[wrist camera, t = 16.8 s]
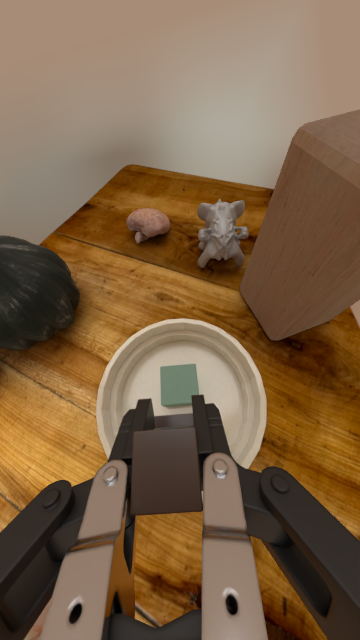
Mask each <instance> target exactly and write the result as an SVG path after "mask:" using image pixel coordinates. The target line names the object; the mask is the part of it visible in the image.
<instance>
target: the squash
mask: <svg viewBox="0 0 360 640" xmlns="http://www.w3.org/2000/svg"><path fill="white" fill-rule="evenodd" d="M79 299H80V293H79V290H78V288H77V286H76V284H75V283H74V281H73V279H72V278H71V273H70V270H69V268H68V266H67V265H66V263H65V262H64V261H63V260H62V259H61V258H60V257H59V256H58V255H57V254H56V253H54V252H53V251H51V250H49V249H48V248H46V247H42V246H39V245H35V244H32V243H30V242H28V241H26V240H23V239H19V238H15V237H10V236H0V348H7V349H11V350H25V349H29V348H31V347H32V346H34V345H35V344H36V343H37V341H46V340H48V339H50V338H51V337H52V336H53V334H54V332H55V329H63V328H66V327H68V326H70V325H71V324H72V323H73V322H74V312H73V310H74V309H76V308H77V306H78V303H79Z"/></svg>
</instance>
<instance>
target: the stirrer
mask: <svg viewBox="0 0 360 640" xmlns="http://www.w3.org/2000/svg"><path fill="white" fill-rule="evenodd" d="M154 418H155V429H148V430H140V431H134V432H133V452H132V475H131V498H130V516H137V515H153V514H169V513H184V512H200V511H203V504H202V493H201V482H200V470H199V459H198V448H197V437H196V428H195V427H194V422H193V413H189V414H176V415H162V416H154Z"/></svg>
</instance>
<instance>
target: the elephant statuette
mask: <svg viewBox="0 0 360 640" xmlns="http://www.w3.org/2000/svg"><path fill="white" fill-rule="evenodd" d="M244 208H245V203H244V201H243V200H241V201H236V202H233V203H231V204H229V203H227V202H221V200H220V199H219V200H218V202H217V203H216V204H215V205H211V204H208V203H207V204H206V203H201V204H200V205H199V207H198V216H199V218H200V219H202V220H204V221H206V223H205V229H201V230H200V231H199V235H198V239H199V240H200V241H201V242H200V243H199V248H200V249H201V250H203V253H202V254H201V256H200V257H199V259H198V265H199V266H200V267H201V268H204V267H205V266H206V263H207V262H208V261H209V260H210V259H211V258H214V259H216V260H218V261H219V260H220V259H222V257H223V258H224V260H227V259H229V258H232V257H233V259H234V260H235V263H236V265H237V266H241V265H242V264H243V263H244V261H245V257H244V256H243V253H242V251H241V249H240V247H239V246H240V241H239V240H238V239H246V238H247V237H248V229H247V227H236V219H237V218H239V217H240V216H241V215H242V214H243V212H244ZM237 230H241V233H240V234H239V236H237V235H238V234H237Z"/></svg>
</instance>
